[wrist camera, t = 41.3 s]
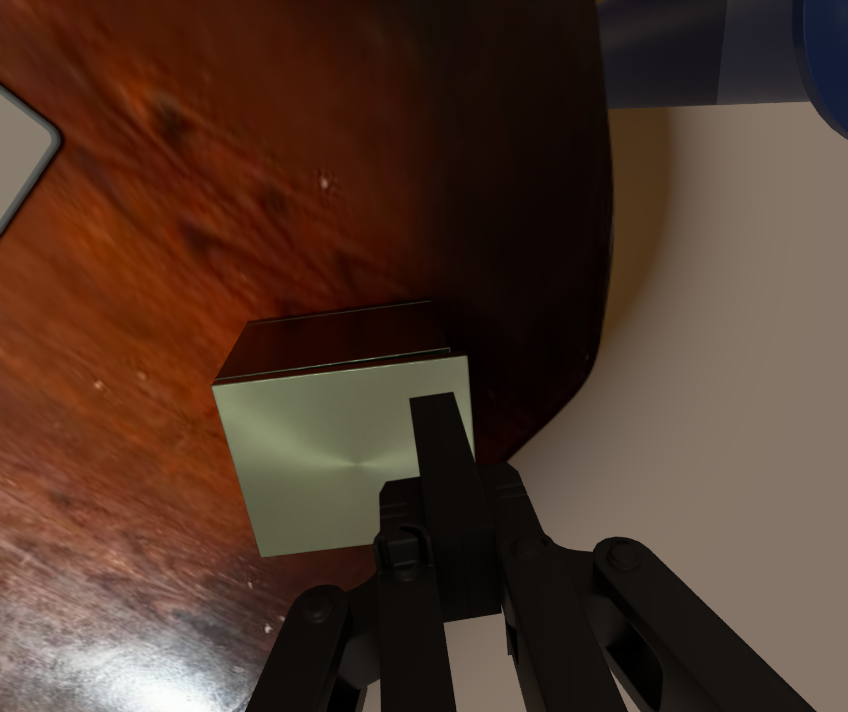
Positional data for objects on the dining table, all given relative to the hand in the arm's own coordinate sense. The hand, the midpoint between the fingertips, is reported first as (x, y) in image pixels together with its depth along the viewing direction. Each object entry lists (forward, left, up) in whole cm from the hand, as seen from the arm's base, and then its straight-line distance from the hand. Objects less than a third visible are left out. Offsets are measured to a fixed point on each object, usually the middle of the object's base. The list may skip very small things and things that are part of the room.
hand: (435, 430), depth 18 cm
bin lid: (+4, +9, -13) cm, 16 cm away
